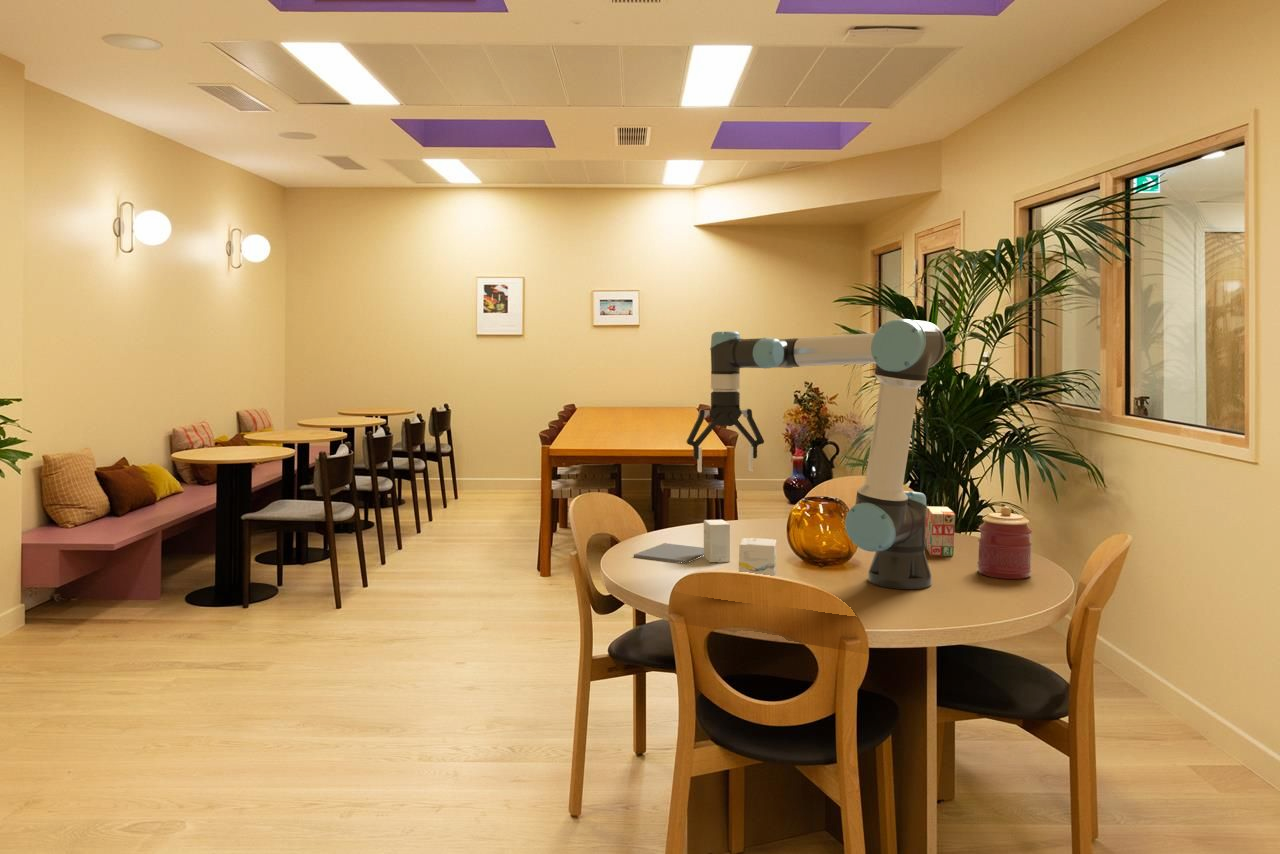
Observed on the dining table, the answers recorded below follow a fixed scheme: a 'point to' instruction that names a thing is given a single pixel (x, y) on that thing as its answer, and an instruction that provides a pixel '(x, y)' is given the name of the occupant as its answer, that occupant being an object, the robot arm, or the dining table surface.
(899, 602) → the dining table surface
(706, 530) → the small box
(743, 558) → the ink box
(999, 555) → the canister
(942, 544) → the stack of blocks
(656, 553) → the mat
